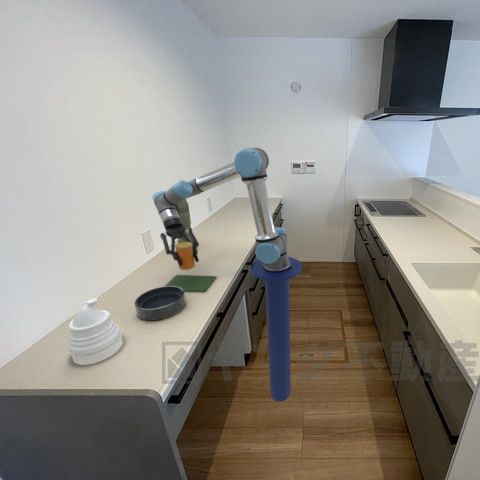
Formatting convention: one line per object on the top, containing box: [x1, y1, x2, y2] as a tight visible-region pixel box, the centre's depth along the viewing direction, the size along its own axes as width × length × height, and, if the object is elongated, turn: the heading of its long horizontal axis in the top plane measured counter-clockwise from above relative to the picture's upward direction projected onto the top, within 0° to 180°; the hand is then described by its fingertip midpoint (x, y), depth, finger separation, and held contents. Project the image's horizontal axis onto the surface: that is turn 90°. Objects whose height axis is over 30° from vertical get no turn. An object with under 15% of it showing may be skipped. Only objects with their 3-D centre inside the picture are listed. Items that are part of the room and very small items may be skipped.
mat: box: [165, 274, 217, 293], centre depth 126 cm, size 20×14×1 cm
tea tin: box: [175, 242, 196, 271], centre depth 121 cm, size 7×7×11 cm
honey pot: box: [67, 297, 124, 366], centre depth 83 cm, size 13×13×18 cm
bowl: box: [134, 285, 187, 321], centre depth 107 cm, size 17×17×6 cm
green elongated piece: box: [175, 199, 194, 244], centre depth 157 cm, size 9×12×35 cm
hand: (189, 263), depth 120 cm, fingers closed on tea tin, 7 cm apart
